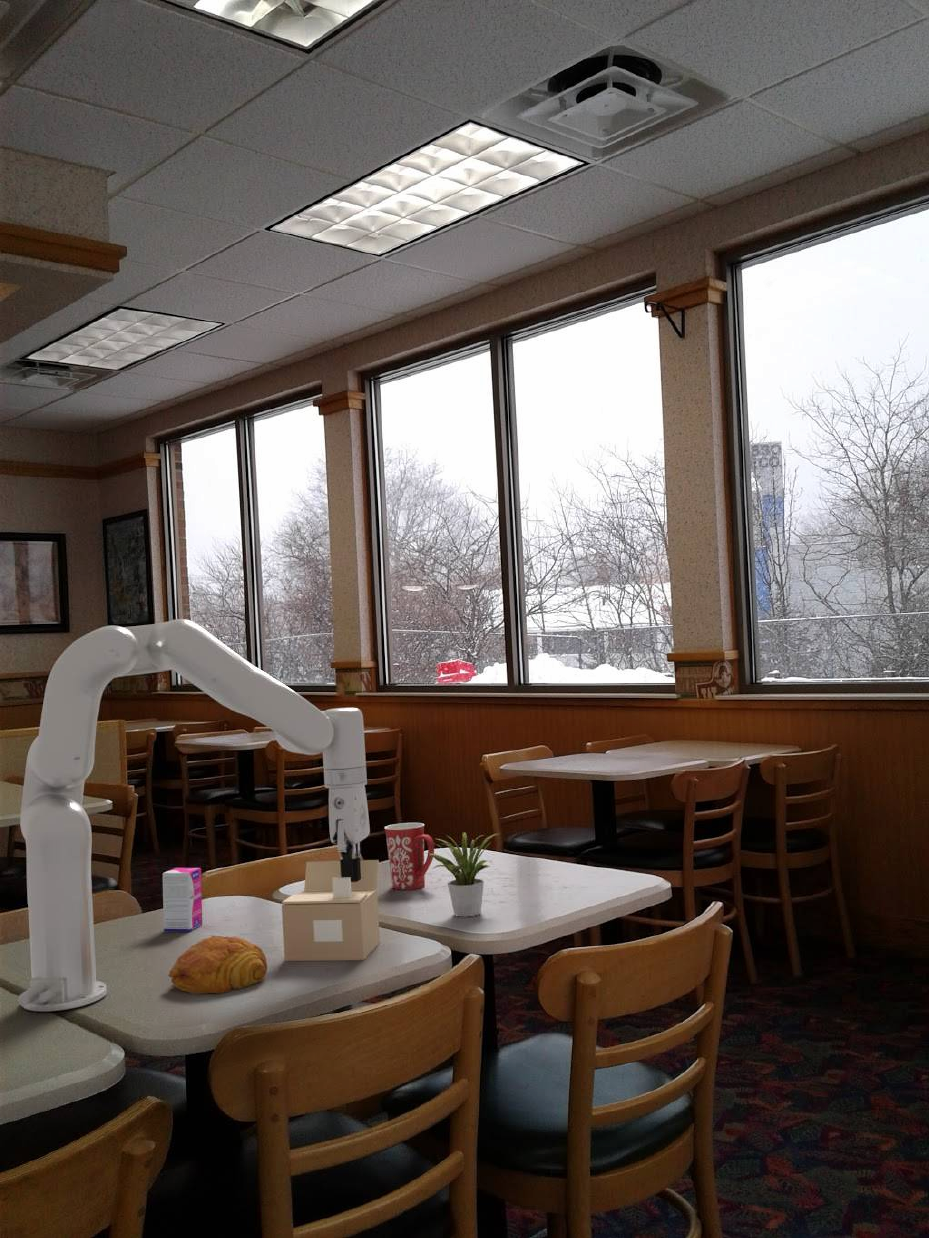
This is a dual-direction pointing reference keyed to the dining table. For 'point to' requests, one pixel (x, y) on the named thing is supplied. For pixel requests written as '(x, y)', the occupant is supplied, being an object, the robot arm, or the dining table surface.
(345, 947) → the carton
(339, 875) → the flap far
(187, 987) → the croissant
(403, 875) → the mug
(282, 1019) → the dining table surface
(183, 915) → the supplement box
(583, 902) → the dining table surface
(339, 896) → the flap near
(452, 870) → the house plant
